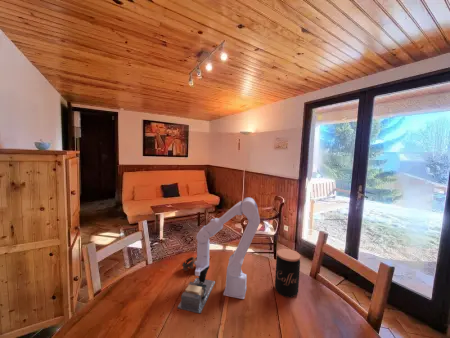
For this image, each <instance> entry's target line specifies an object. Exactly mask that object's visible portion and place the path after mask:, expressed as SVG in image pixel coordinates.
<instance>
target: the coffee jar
mask: <svg viewBox="0 0 450 338" xmlns="http://www.w3.org/2000/svg"><path fill="white" fill-rule="evenodd" d="M300 268H301V254H300V253H299V252H297V251H296V250H294V249H289V248H280V249H278V250H277V251H276V261H275V276H274V277H275V279H274V288H275V290H276V292H277V293H278V295H281V296H282V297H286V298H294V297H296V296H297V295H298V293H299V285H300V272H301V270H300Z"/></svg>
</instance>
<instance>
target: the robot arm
mask: <svg viewBox="0 0 450 338" xmlns="http://www.w3.org/2000/svg"><path fill="white" fill-rule="evenodd" d="M258 207H259V206H258V204H257V202H256V200H255V199H254V198H252V197H251V196H250V197H249V196H248V197H244V198H243V200H240V201H238V202H237V203H236V204H234V205H233V206H232V207H231V208H230V209H229V210H227V211H226V212H225V213H223V215H221V216H220V217H219V218H218V217H215V218H211V219H210V220H209V222H208V223H206V225H203V226H202V227H201V228H200V230H199V231H198V232H197V234H196V237H195V238H196V241H197V245H196V247H197V249H196V250H197V251H196V257H197V261H195V262H194V263H193V265H195V264H196V266H195V270H194V276H197V277H198V278H199V281H202V282H203V283H204V282H205V279H206V277H207V274H208V271H209V269H210V248H211V247H210V238H211V237H214V236H215V235H216V234H217V233H219V232H220V231H221V230H222V229H223V228H224V224H225V223H227V222H229V221H230V220H231V219H232V218H234V217H235V216H243V215H244V216H245V218H246V219H247V221H248V222H247V224H246V226H245V230H244V231H243V233H242V236H241V238H240V241H238V244H237V247H236V248H235V250H234V252H233V253H232V255H230V256H229V258H228V265H227V267H226V278H225V280H226V281H225V289H224V291H223V296H227V297H231V298H235V299H241V300H245V298H246V292H247V281H248V280H247V279H248V277H247V273H244V272H243V270H242V265H243V263H244V260H245V257H246V255H247V253H248V250H249V248H250V246H251V244H252V241H253V239H254V237H255V235H256V233H257V230H258V228H259V226H260V224H261V218H260V214H259V208H258Z"/></svg>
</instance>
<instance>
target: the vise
mask: <svg viewBox="0 0 450 338" xmlns="http://www.w3.org/2000/svg"><path fill="white" fill-rule="evenodd" d="M193 282H194V283H199V282H200V281H199V277H195V279H194V281H193ZM203 284H204V285H207V289H206V296H205V298H201V295H197V294H192V293H187V292H185V291H183V292H182V294H181V297H180V298H181V299H180V302H179V303H178V305H177V309H179V310H184V311H187V312H191V313H197V314H200V315H201V313H202V312H203V309H204V308H205V305H206V303H207V301H208V300H209V296H210V295H211V292H212V290H213V289H214V286H215V284H216V281H215V280H210V279H206V278H205V282H204V283H203Z"/></svg>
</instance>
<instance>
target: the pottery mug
mask: <svg viewBox="0 0 450 338" xmlns="http://www.w3.org/2000/svg"><path fill="white" fill-rule="evenodd" d="M195 261H197V256H196V257H194V256H191V257H189V258H187V259H186V260H185V261H184V262H183V263H182V270H183V271H186V272H188V271H189V269H194V266H195V267H196V264H194V262H195Z"/></svg>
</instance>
